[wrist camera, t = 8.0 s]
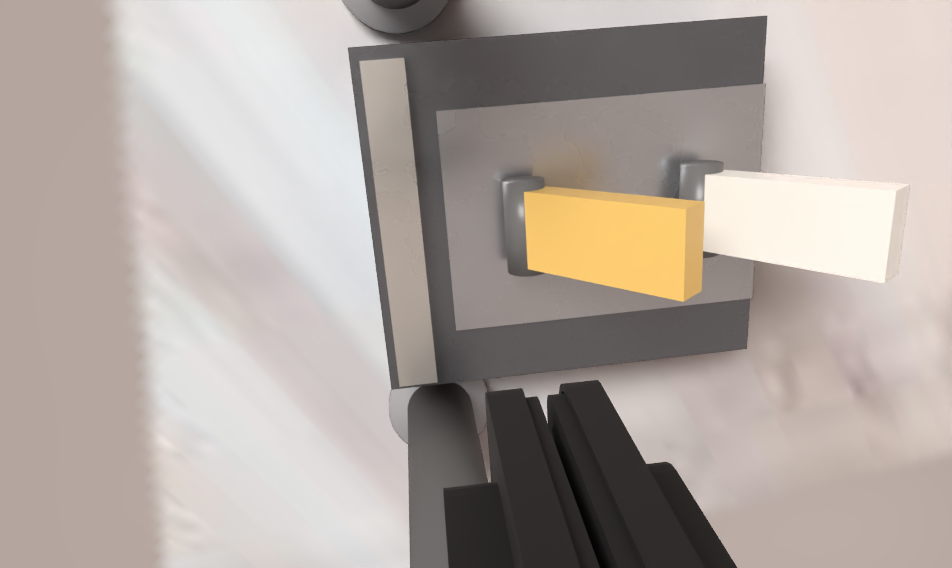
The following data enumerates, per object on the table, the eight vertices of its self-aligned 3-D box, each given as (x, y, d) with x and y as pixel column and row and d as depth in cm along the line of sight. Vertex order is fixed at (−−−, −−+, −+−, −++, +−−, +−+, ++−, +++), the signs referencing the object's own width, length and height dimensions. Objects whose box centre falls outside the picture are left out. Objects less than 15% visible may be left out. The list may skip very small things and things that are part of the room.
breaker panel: (720, 21, 29) (778, 14, 25) (708, 316, 34) (755, 356, 29) (354, 49, 28) (346, 47, 24) (392, 351, 33) (391, 398, 28)
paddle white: (694, 158, 27) (914, 173, 21) (691, 244, 28) (898, 280, 22) (671, 165, 26) (895, 182, 20) (669, 254, 27) (880, 293, 21)
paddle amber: (521, 174, 26) (708, 190, 21) (525, 261, 28) (703, 297, 22) (493, 182, 25) (683, 200, 20) (499, 272, 26) (680, 312, 21)
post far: (484, 350, 33) (544, 560, 19) (491, 438, 35) (551, 690, 21) (383, 362, 33) (370, 584, 19) (395, 450, 34) (391, 714, 20)
